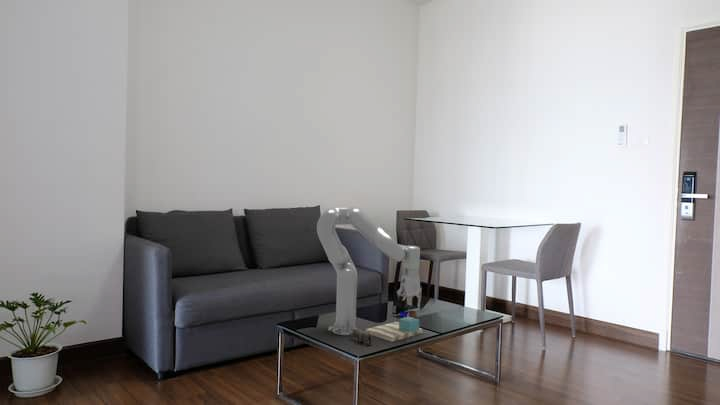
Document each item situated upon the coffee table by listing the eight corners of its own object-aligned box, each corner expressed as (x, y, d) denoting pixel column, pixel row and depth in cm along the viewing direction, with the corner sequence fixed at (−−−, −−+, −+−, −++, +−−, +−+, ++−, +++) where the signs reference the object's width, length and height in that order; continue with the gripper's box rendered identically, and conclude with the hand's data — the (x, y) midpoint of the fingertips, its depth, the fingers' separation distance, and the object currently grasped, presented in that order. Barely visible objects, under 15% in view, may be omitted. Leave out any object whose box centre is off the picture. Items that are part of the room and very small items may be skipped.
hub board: (392, 341, 232) (392, 329, 232) (365, 333, 244) (365, 321, 244) (422, 333, 247) (422, 321, 247) (396, 325, 259) (396, 314, 259)
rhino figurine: (353, 337, 236) (353, 324, 236) (373, 345, 226) (374, 331, 226) (346, 339, 234) (347, 326, 233) (367, 347, 223) (367, 333, 223)
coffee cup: (403, 308, 298) (404, 282, 298) (417, 307, 301) (418, 282, 300) (409, 311, 289) (410, 285, 289) (423, 311, 292) (424, 285, 292)
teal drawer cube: (409, 332, 241) (410, 321, 241) (398, 329, 246) (399, 318, 245) (419, 329, 245) (419, 319, 245) (408, 326, 250) (408, 316, 250)
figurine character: (390, 318, 279) (410, 321, 267) (390, 304, 279) (410, 306, 268) (399, 317, 283) (419, 319, 272) (399, 303, 284) (419, 305, 272)
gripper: (405, 274, 236) (402, 311, 236) (428, 271, 248) (425, 306, 249) (392, 271, 241) (390, 307, 242) (416, 269, 253) (413, 303, 254)
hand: (408, 307), depth 245 cm, fingers open, 9 cm apart
